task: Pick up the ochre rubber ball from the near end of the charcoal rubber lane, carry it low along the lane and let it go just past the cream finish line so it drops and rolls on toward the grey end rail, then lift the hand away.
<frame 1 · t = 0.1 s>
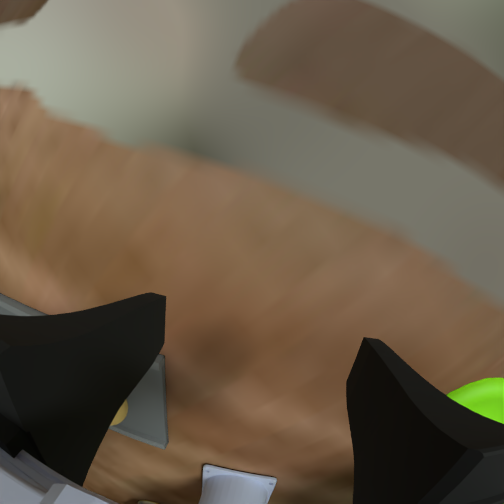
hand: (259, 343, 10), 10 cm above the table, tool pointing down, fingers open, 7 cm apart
lane mat: (53, 360, 27), on the table
wineglass: (457, 435, 22), on the table
ball: (107, 405, 23), point 3 cm above the table, touching lane mat
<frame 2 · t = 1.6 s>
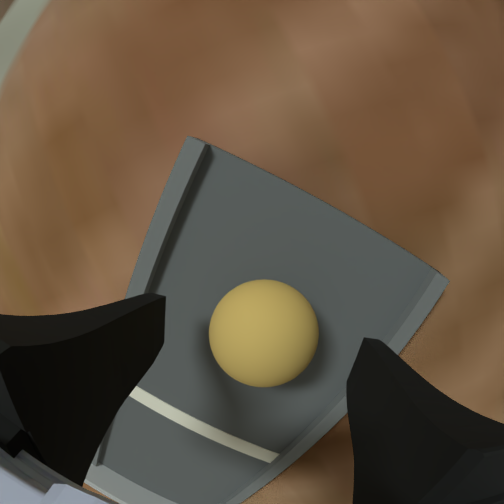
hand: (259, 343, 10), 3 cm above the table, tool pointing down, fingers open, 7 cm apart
lane mat: (199, 418, 16), on the table
ball: (263, 333, 11), point 3 cm above the table, touching lane mat
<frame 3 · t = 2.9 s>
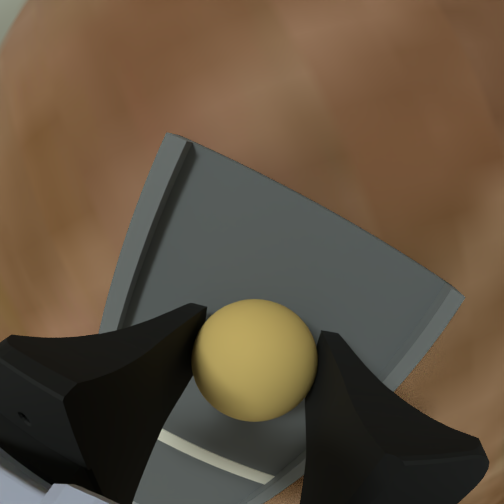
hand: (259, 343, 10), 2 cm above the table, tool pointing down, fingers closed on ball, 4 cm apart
lane mat: (189, 439, 15), on the table
ball: (254, 360, 9), point 3 cm above the table, touching gripper, lane mat
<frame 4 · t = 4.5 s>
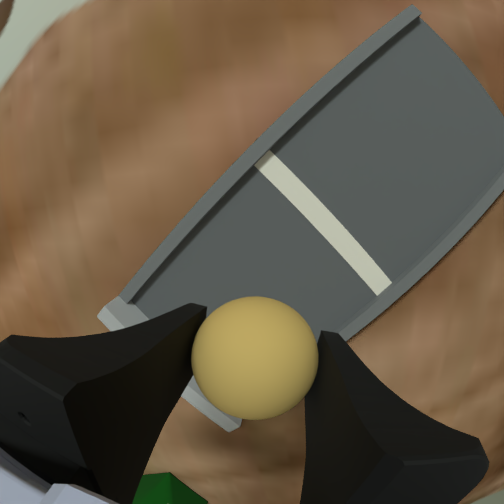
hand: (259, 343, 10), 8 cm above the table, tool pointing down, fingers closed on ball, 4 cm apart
lane mat: (327, 223, 17), on the table
ball: (254, 358, 9), point 9 cm above the table, touching gripper
milk carton: (169, 488, 28), on the table
when the fingers open (4 cm above the table, at t = 6.0 s): ball drops 2 cm, resting on lane mat.
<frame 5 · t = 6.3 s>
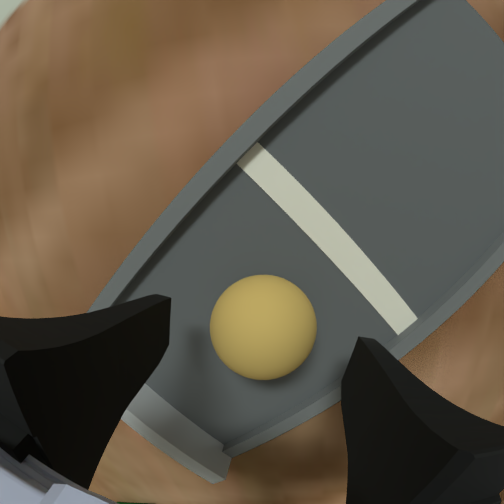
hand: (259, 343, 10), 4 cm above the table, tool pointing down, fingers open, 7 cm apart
lane mat: (336, 242, 13), on the table
ball: (263, 327, 11), point 3 cm above the table, touching lane mat
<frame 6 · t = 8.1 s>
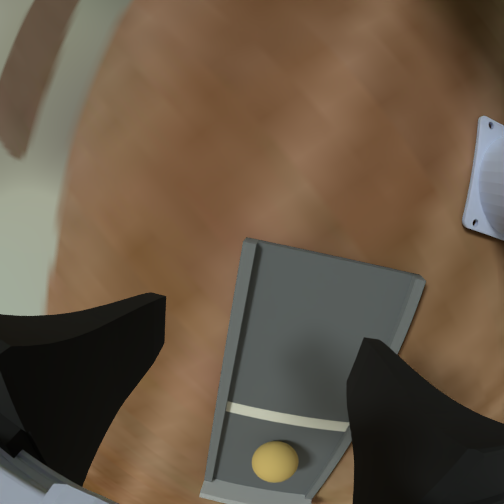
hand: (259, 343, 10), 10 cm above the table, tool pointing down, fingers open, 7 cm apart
lane mat: (288, 414, 23), on the table
ball: (275, 461, 22), point 3 cm above the table, touching lane mat
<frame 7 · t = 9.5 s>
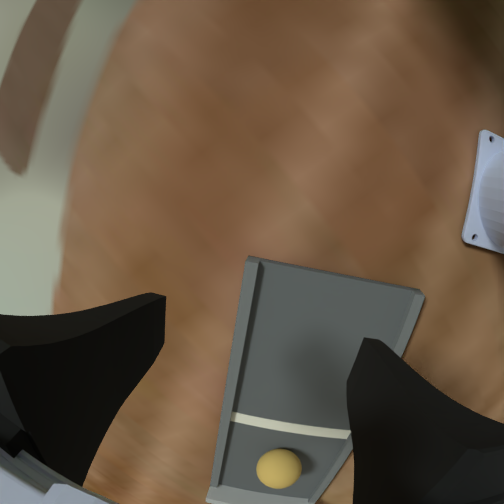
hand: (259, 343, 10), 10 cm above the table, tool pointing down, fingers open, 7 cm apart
lane mat: (291, 422, 23), on the table
ball: (279, 468, 22), point 3 cm above the table, touching lane mat
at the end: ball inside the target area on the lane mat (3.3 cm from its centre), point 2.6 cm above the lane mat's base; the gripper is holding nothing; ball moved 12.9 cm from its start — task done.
